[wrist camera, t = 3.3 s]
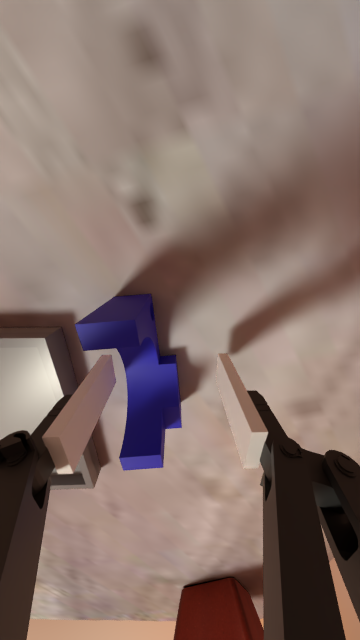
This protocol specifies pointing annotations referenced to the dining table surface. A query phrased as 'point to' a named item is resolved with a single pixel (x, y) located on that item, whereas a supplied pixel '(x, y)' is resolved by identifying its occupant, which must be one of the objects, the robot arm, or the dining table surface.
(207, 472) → the dining table surface
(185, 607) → the plant pot
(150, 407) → the cable clip
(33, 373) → the tray
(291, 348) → the dining table surface
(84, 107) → the dining table surface
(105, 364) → the robot arm
